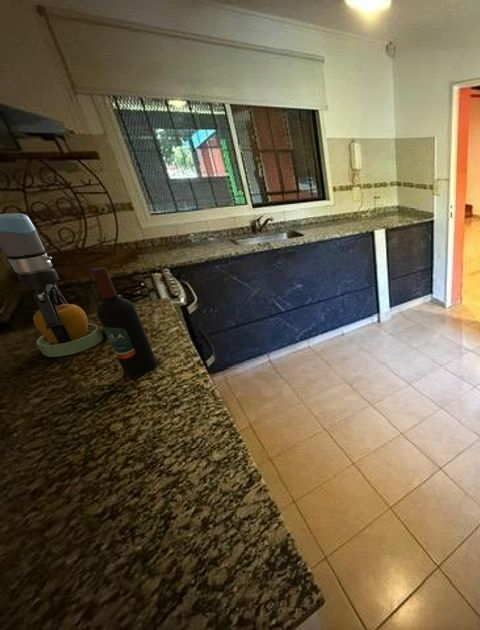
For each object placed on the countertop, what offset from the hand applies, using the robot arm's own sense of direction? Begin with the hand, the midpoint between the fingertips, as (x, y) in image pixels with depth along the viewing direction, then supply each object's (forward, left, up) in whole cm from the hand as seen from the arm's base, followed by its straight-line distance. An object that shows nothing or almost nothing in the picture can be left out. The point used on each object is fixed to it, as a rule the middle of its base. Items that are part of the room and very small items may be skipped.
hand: (69, 337), depth 107 cm
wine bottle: (+30, -14, -3) cm, 33 cm away
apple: (0, 0, -2) cm, 2 cm away
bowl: (0, 0, -3) cm, 3 cm away
